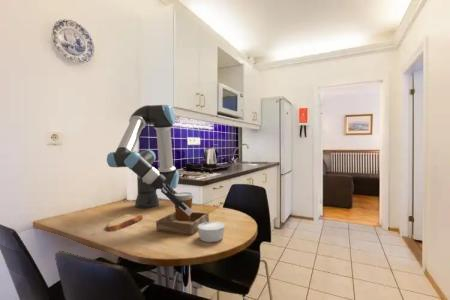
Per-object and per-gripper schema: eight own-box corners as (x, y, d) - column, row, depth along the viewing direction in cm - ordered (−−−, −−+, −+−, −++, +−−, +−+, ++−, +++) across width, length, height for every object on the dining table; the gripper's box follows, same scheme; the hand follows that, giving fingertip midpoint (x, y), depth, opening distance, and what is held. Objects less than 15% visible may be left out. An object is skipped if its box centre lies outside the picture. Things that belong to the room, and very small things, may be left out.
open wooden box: (176, 219, 125) (176, 210, 125) (208, 222, 119) (208, 213, 119) (156, 231, 108) (156, 221, 108) (192, 234, 102) (192, 224, 102)
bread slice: (106, 233, 108) (106, 224, 108) (104, 222, 124) (104, 215, 124) (147, 225, 117) (147, 218, 117) (140, 216, 133) (140, 210, 133)
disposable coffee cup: (169, 221, 110) (169, 195, 110) (178, 216, 119) (178, 191, 119) (189, 223, 108) (188, 196, 108) (196, 216, 117) (196, 192, 117)
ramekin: (210, 231, 106) (210, 219, 106) (230, 237, 99) (230, 224, 99) (192, 239, 98) (191, 226, 98) (212, 246, 91) (212, 232, 90)
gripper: (151, 181, 121) (184, 211, 124) (145, 188, 100) (185, 223, 103) (161, 170, 122) (194, 200, 125) (158, 175, 101) (197, 210, 104)
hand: (190, 211), depth 114 cm, fingers closed on disposable coffee cup, 9 cm apart
